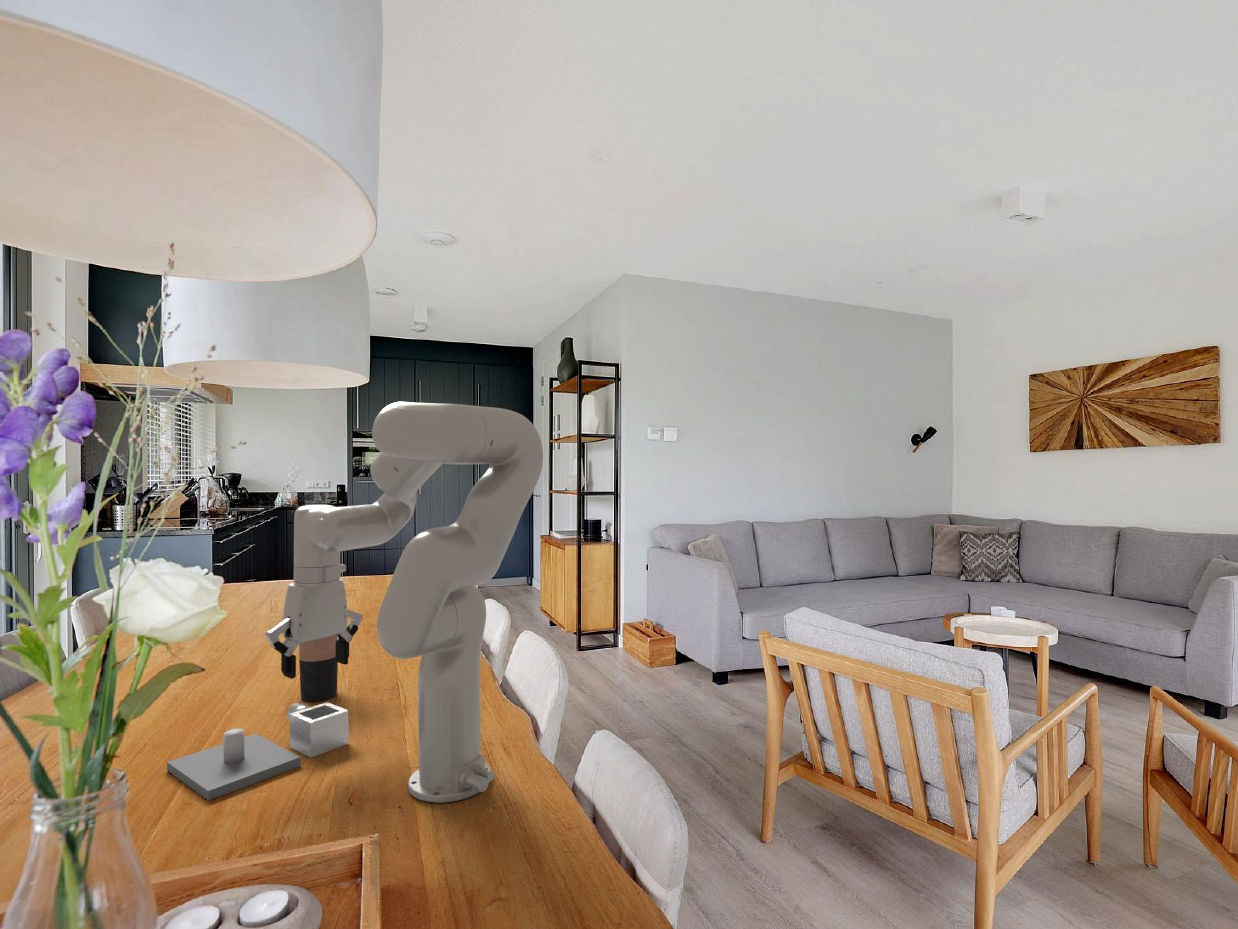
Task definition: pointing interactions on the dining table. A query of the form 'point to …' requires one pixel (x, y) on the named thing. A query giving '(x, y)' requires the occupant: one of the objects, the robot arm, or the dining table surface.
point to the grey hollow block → (317, 728)
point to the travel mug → (318, 669)
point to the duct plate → (232, 764)
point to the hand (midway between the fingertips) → (316, 669)
